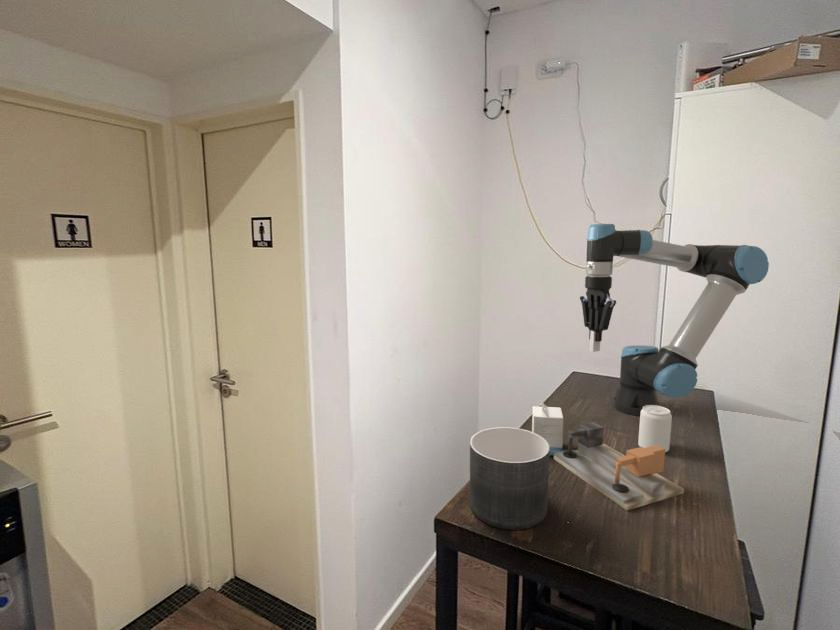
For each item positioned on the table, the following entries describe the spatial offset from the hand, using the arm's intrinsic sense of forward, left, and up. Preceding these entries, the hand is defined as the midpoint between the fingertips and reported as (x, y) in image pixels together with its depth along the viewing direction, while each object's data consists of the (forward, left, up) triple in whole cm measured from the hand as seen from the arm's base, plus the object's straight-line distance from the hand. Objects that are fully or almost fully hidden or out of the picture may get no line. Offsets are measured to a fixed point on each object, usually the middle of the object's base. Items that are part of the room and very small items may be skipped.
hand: (594, 350), depth 139 cm
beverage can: (-8, +17, -27) cm, 33 cm away
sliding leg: (+13, +31, -24) cm, 41 cm away
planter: (+47, +25, -27) cm, 60 cm away
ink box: (+21, +5, -27) cm, 34 cm away
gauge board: (+14, +24, -26) cm, 38 cm away
